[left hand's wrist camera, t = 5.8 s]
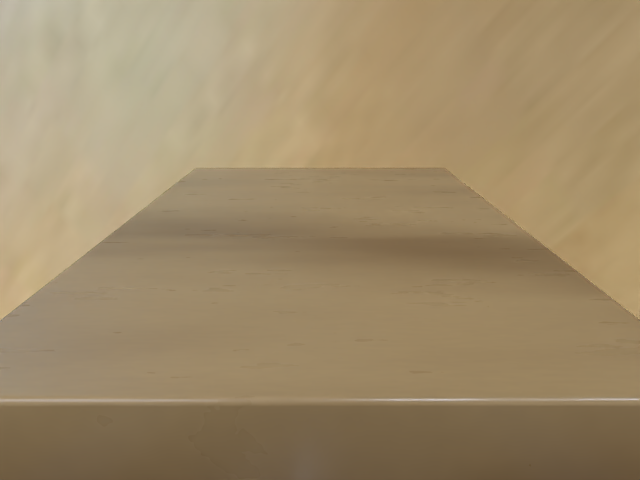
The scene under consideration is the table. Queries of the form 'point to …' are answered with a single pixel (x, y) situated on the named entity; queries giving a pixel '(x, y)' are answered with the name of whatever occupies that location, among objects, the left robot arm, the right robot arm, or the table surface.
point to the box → (320, 342)
